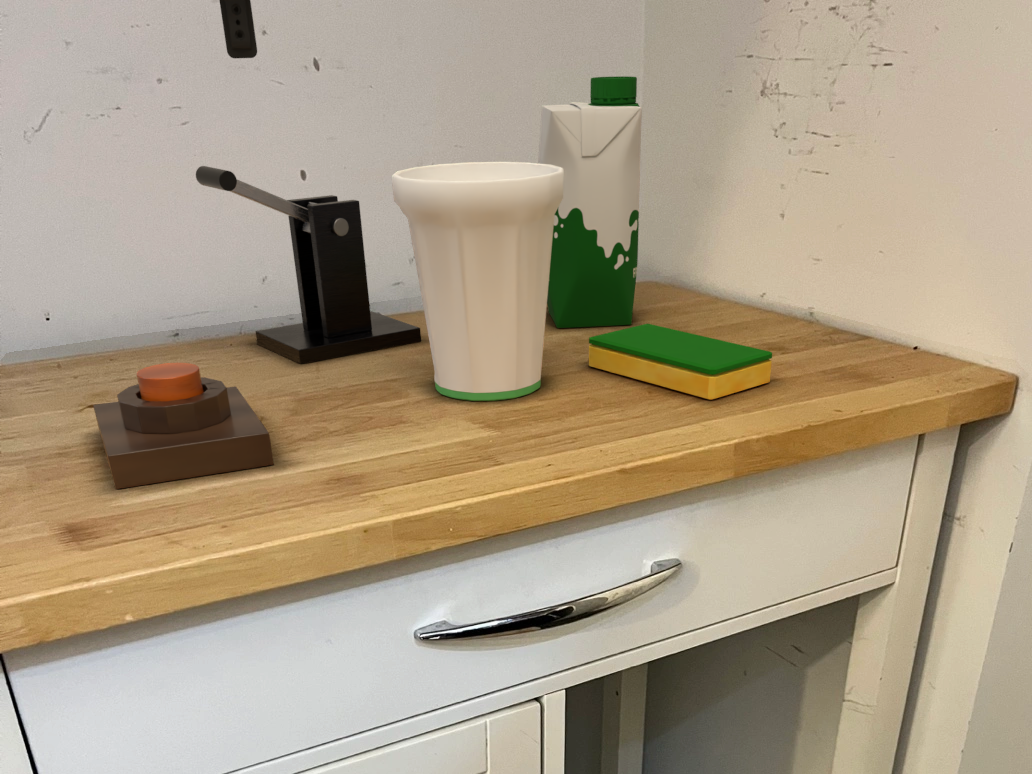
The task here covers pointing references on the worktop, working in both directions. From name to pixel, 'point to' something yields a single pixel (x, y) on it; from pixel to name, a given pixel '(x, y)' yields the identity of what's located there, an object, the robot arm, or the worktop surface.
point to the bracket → (333, 290)
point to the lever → (251, 193)
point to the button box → (181, 435)
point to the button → (169, 382)
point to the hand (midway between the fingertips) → (243, 56)
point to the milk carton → (595, 204)
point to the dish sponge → (680, 360)
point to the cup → (483, 270)
